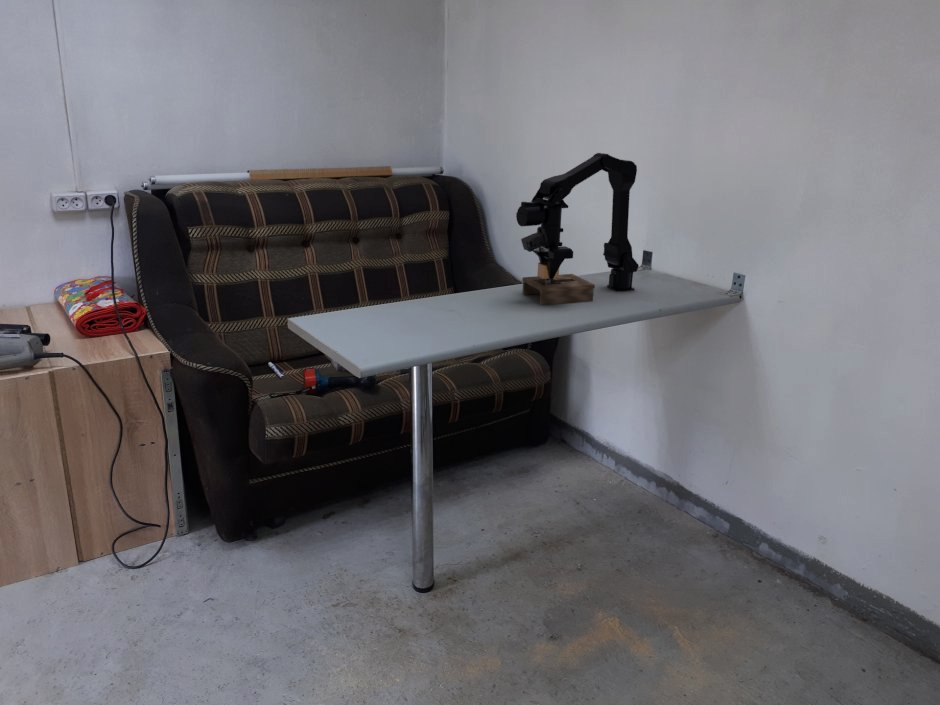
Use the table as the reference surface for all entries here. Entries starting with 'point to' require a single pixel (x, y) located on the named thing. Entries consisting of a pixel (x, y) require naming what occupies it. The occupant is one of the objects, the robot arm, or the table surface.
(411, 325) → the table surface
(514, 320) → the table surface
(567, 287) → the keyhole bracket
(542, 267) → the hanger peg
